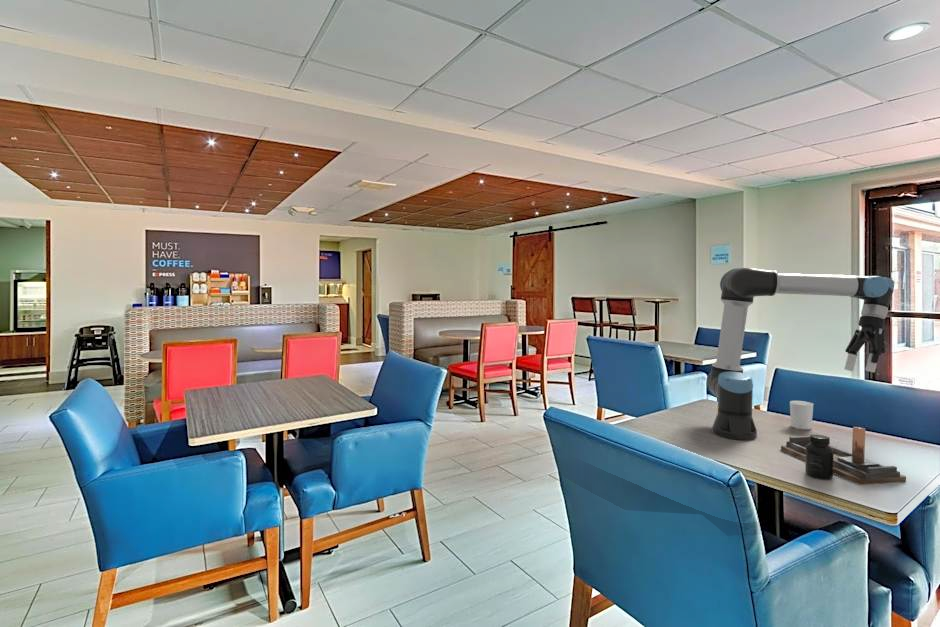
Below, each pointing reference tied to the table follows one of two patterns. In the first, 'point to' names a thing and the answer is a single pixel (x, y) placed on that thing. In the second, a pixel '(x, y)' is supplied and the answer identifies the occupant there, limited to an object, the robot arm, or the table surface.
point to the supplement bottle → (819, 457)
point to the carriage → (858, 452)
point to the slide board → (870, 476)
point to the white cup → (801, 414)
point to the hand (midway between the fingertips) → (858, 370)
